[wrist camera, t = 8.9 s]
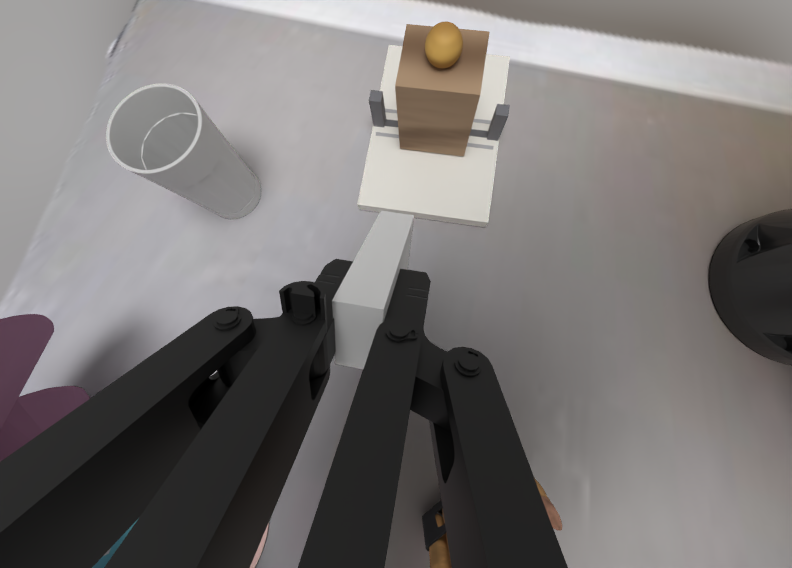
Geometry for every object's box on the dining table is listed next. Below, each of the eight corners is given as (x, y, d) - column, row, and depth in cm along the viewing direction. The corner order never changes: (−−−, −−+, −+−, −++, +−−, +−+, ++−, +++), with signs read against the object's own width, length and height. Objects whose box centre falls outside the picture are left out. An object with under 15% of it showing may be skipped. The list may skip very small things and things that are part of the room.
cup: (265, 156, 39) (199, 75, 27) (271, 219, 37) (204, 163, 25) (199, 167, 39) (105, 92, 27) (203, 231, 37) (105, 181, 26)
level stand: (485, 227, 36) (497, 207, 30) (359, 209, 37) (350, 187, 31) (506, 67, 39) (520, 23, 33) (389, 55, 40) (386, 11, 35)
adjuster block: (463, 156, 35) (487, 67, 24) (399, 148, 36) (392, 58, 24) (471, 106, 36) (497, -2, 25) (408, 100, 37) (405, -9, 25)
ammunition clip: (507, 443, 32) (561, 504, 20) (520, 460, 32) (583, 532, 20) (421, 516, 31) (425, 623, 19) (434, 533, 31) (446, 653, 19)
